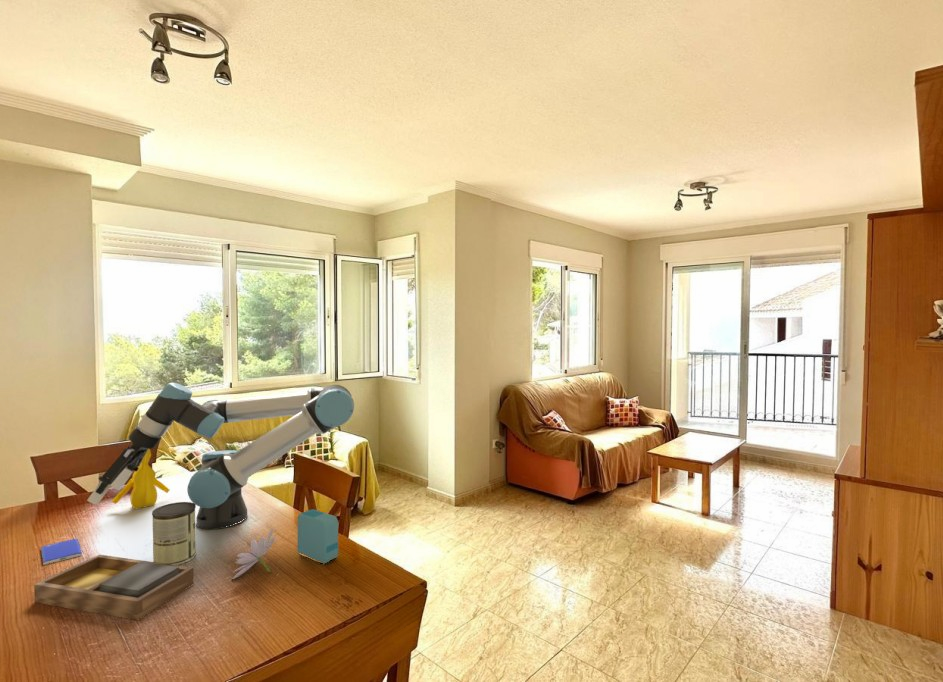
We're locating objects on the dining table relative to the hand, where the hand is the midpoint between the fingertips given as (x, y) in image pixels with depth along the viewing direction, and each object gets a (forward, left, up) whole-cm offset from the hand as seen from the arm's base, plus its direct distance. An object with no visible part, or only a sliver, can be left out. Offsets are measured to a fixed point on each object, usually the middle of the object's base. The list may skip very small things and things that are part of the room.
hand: (104, 495), depth 140 cm
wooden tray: (-13, +29, -16) cm, 35 cm away
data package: (-59, +23, -16) cm, 65 cm away
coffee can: (-21, +13, -16) cm, 29 cm away
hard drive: (+11, 0, -16) cm, 20 cm away
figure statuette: (+2, -35, -16) cm, 39 cm away
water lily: (-43, +26, -16) cm, 53 cm away
